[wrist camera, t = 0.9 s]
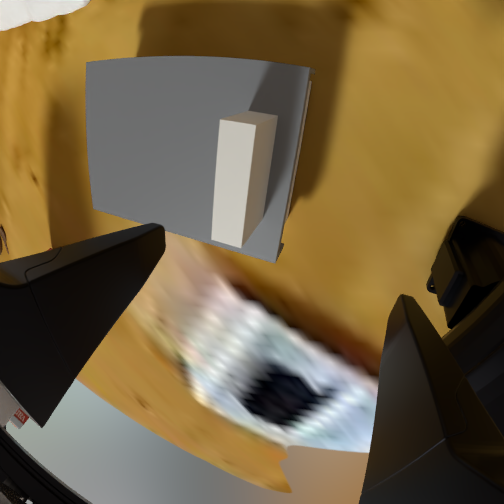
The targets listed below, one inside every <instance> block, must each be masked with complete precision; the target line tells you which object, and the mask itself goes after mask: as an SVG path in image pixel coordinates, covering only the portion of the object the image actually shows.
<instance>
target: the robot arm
mask: <svg viewBox="0 0 504 504" xmlns="http://www.w3.org/2000/svg"><path fill="white" fill-rule="evenodd" d="M462 221H464V224H463V225H462V226H460V223H461V222H462ZM165 248H166V242H165V228H164V226H163V225H160V224H157V223H149V224H145V225H141V226H137V227H133V228H129V229H125V230H121V231H117V232H113V233H110V234H106V235H102V236H99V237H95V238H91V239H88V240H84V241H80V242H77V243H73V244H70V245H66V246H63V248H62V247H59V248H56V249H52V250H49V251H45V252H42V253H38V254H34V255H30V256H26V257H22V258H18V259H14V260H10V261H6V262H2V263H0V504H26V503H25V502H26V501H27V499H28V500H30V501H32V502H33V504H92V503H91V502H89V501H88V500H86V499H85V498H84V497H82V496H81V495H80V494H78V493H77V492H75V491H74V490H72V489H71V488H70V487H68V486H67V485H66V484H65V483H64V482H62V481H61V480H60V479H58V478H57V477H56V476H55V475H54V474H52V473H51V472H50V471H49V470H47V469H46V468H45V467H44V466H43V465H42V464H41V463H39V462H38V461H37V460H36V459H35V458H34V457H33V456H32V455H31V454H29V453H28V452H27V451H26V450H25V449H24V448H23V447H22V446H21V445H20V444H19V443H18V442H17V441H16V440H15V439H14V438H13V437H12V436H11V435H10V434H9V433H8V432H7V431H6V424H7V422H8V421H9V420H10V419H11V417H12V416H13V415H14V414H15V413H16V411H17V410H18V409H19V408H20V409H21V410H22V411H23V412H24V413H25V414H26V415H28V416H29V417H30V418H31V419H32V420H33V421H34V422H35V423H36V424H38V425H39V426H40V427H41V428H42V427H43V426H44V425H45V424H46V422H47V421H48V419H49V418H50V416H51V414H52V413H53V411H54V410H55V408H56V407H57V405H58V404H59V402H60V401H61V399H62V398H63V396H64V394H65V393H66V392H67V390H68V389H69V387H70V386H71V384H72V383H73V381H74V379H75V378H76V377H77V375H78V374H79V372H80V371H81V370H82V368H83V367H84V365H85V364H86V362H87V361H88V360H89V358H90V357H91V355H92V354H93V353H94V351H95V350H96V348H97V347H98V346H99V344H100V343H101V341H102V340H103V339H104V337H105V336H106V335H107V333H108V332H109V331H110V329H111V328H112V326H113V325H114V324H115V322H116V321H117V320H118V318H119V317H120V316H121V314H122V313H123V312H124V310H125V309H126V308H127V306H128V305H129V304H130V303H131V301H132V300H133V299H134V297H135V296H136V295H137V293H138V292H139V291H140V290H141V288H142V287H143V285H144V284H145V282H146V281H147V279H148V278H149V276H150V274H151V273H152V271H153V270H154V268H155V266H156V265H157V263H158V262H159V260H160V259H161V257H162V255H163V254H164V252H165ZM431 272H432V274H431V276H430V278H429V280H428V281H427V284H426V285H427V290H428V291H429V292H431V293H434V294H437V298H438V302H439V305H440V306H444V311H445V316H446V321H447V326H448V328H450V329H451V330H450V331H449V332H448V333H447V334H445V335H444V336H443V337H442V338H441V337H440V335H439V334H438V332H437V331H436V329H435V328H434V326H433V325H432V323H431V322H430V320H429V319H428V318H427V316H426V315H425V313H424V312H423V310H422V309H421V307H420V306H419V305H418V303H417V302H416V300H415V299H414V298H413V297H411V296H408V295H404V294H401V295H400V296H399V297H398V299H397V301H396V303H395V305H394V307H393V309H392V311H391V313H390V315H389V318H388V323H387V330H386V336H385V341H384V347H383V352H382V358H381V364H380V374H379V385H378V395H377V404H376V412H375V420H374V427H373V434H372V440H371V446H370V452H369V458H368V463H367V469H366V474H365V479H364V483H363V488H362V494H361V496H360V500H359V504H504V232H501V231H499V230H497V229H494V228H492V227H490V226H487V225H485V224H482V223H480V222H478V221H475V220H473V219H470V218H468V217H465V216H459V217H458V218H457V219H456V220H455V223H454V225H453V228H452V230H451V232H450V235H449V237H448V239H447V240H446V241H444V242H443V244H442V246H441V249H440V251H439V253H438V255H437V257H436V259H435V262H434V264H433V266H432V268H431ZM431 285H435V286H433V287H431Z"/></svg>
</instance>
